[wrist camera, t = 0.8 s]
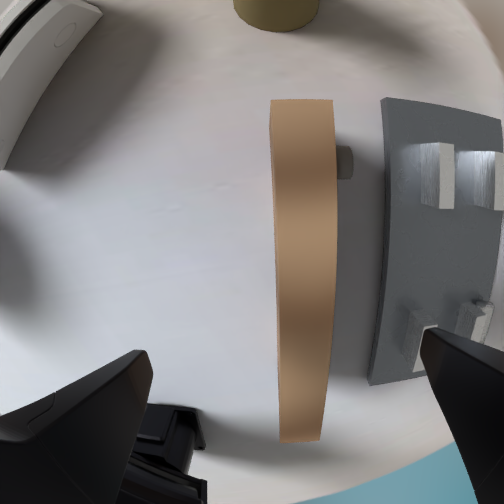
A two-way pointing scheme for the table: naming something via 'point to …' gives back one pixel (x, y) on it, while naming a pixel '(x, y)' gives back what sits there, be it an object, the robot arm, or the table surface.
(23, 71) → the white curved block
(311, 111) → the cabinet door
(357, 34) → the table surface
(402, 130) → the plate
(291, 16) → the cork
